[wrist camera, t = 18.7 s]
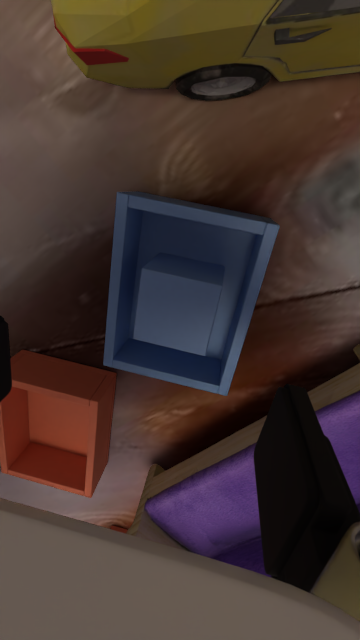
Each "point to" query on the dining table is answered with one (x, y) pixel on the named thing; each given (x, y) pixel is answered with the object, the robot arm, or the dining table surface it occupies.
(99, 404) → the red bin
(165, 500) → the toy sofa
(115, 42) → the toy car
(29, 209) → the dining table surface
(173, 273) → the blue block
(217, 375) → the blue bin
